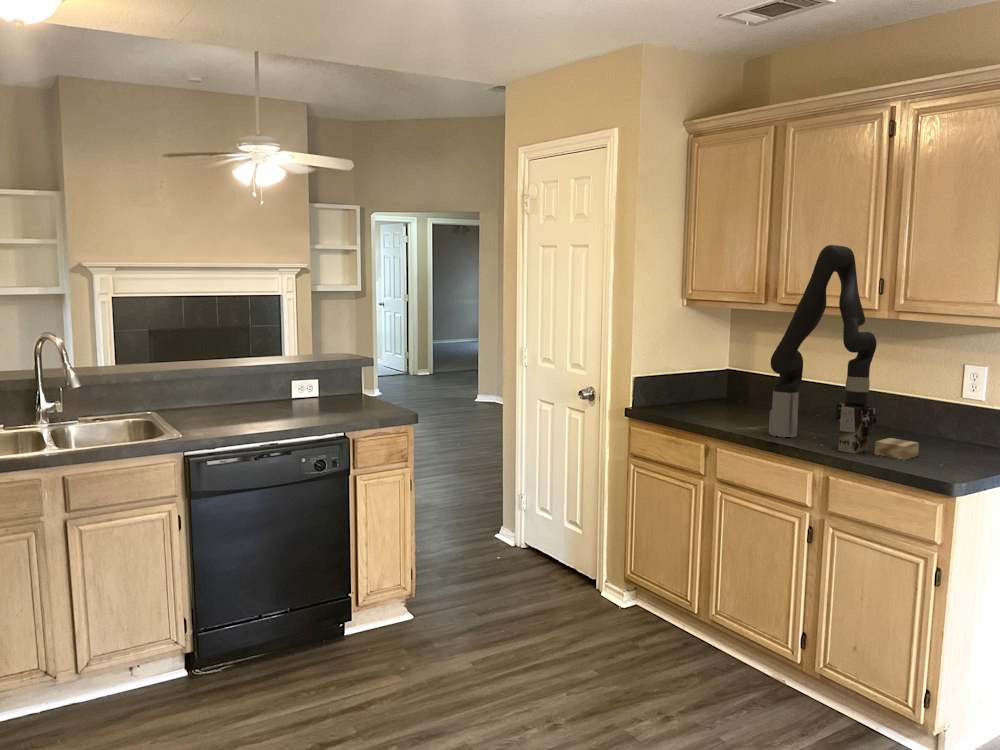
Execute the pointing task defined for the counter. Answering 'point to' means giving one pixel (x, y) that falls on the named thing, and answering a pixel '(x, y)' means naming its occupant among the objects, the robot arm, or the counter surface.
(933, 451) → the counter surface
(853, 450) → the coffee box
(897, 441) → the maple block
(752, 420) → the counter surface
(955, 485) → the counter surface
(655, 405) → the counter surface
